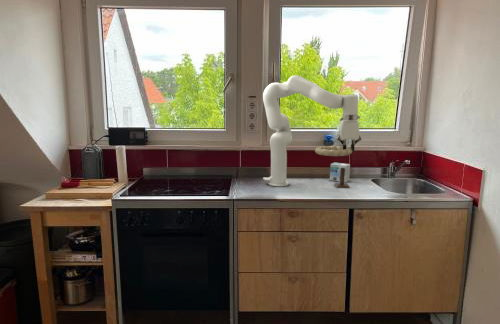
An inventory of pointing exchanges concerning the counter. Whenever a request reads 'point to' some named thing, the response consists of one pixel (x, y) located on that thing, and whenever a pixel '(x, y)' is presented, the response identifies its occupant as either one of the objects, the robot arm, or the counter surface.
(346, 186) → the brown peg stand
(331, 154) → the woven wreath ring
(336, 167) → the light bulb box
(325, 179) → the counter surface
